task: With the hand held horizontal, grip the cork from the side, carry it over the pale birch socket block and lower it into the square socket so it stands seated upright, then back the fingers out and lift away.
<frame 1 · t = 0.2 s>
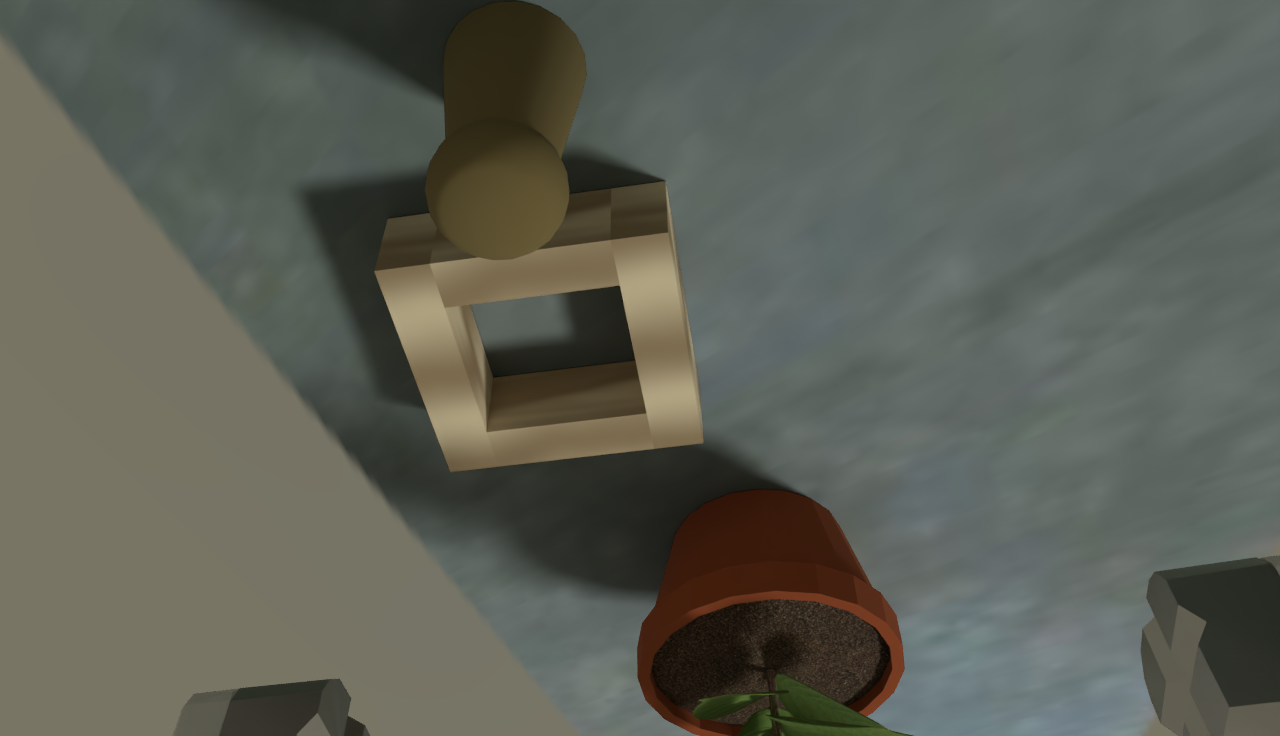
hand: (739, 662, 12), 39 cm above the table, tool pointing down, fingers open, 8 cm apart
cork: (515, 66, 50), on the table
potted plant: (751, 546, 71), on the table
socket block: (553, 309, 59), on the table
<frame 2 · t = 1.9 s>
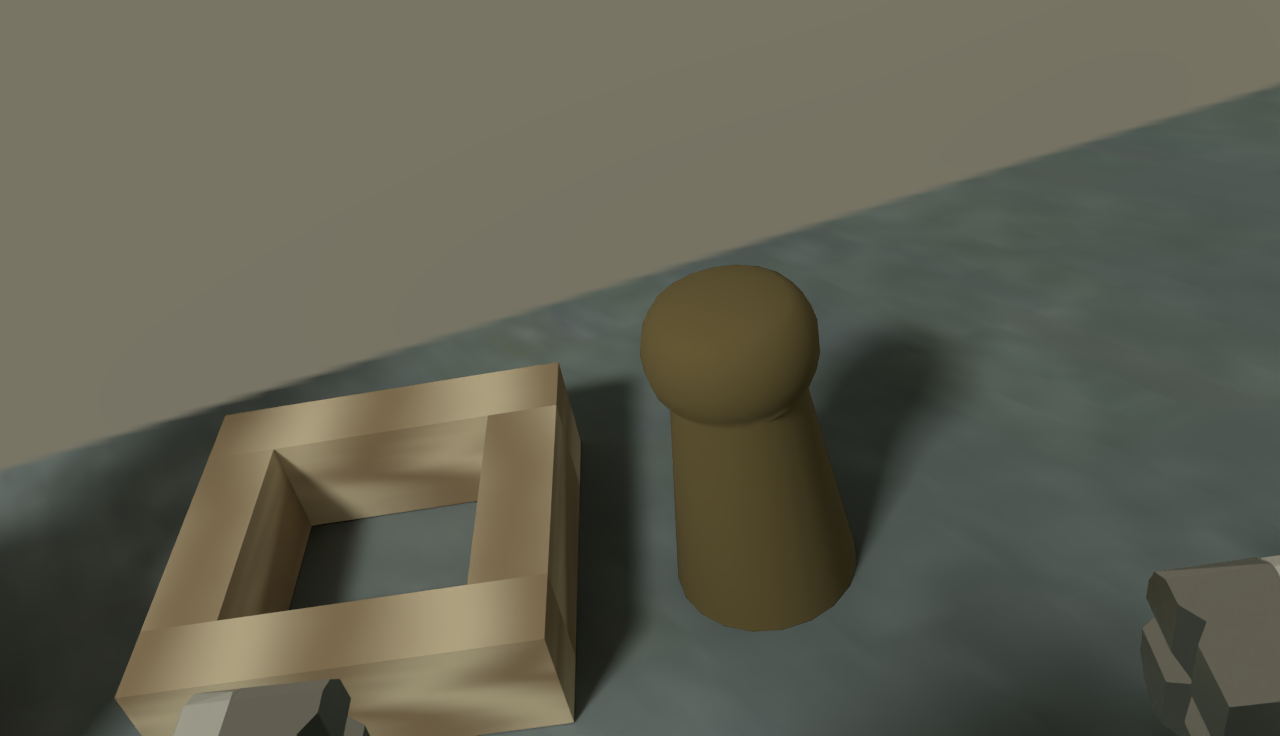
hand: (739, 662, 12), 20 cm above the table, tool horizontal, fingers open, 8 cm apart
cork: (766, 564, 40), on the table
socket block: (398, 590, 42), on the table
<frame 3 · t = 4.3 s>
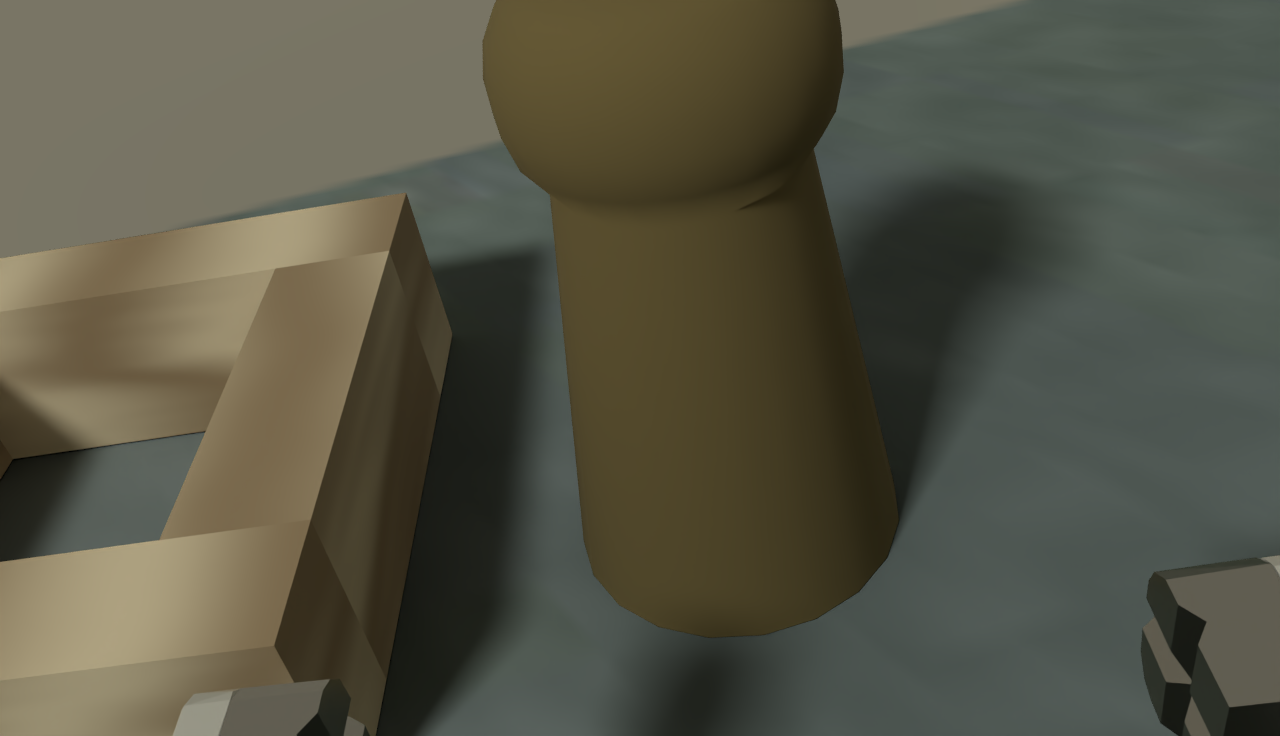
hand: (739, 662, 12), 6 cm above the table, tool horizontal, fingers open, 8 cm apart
cork: (739, 520, 23), on the table
socket block: (114, 560, 25), on the table
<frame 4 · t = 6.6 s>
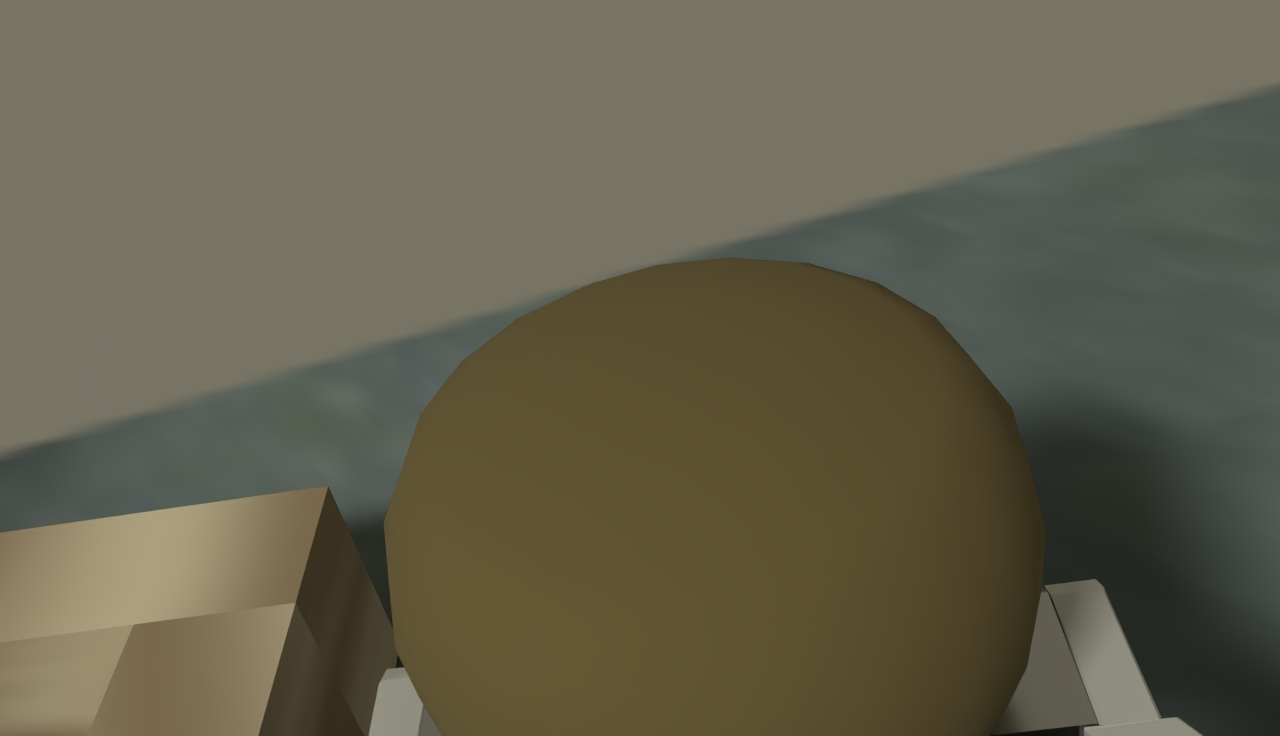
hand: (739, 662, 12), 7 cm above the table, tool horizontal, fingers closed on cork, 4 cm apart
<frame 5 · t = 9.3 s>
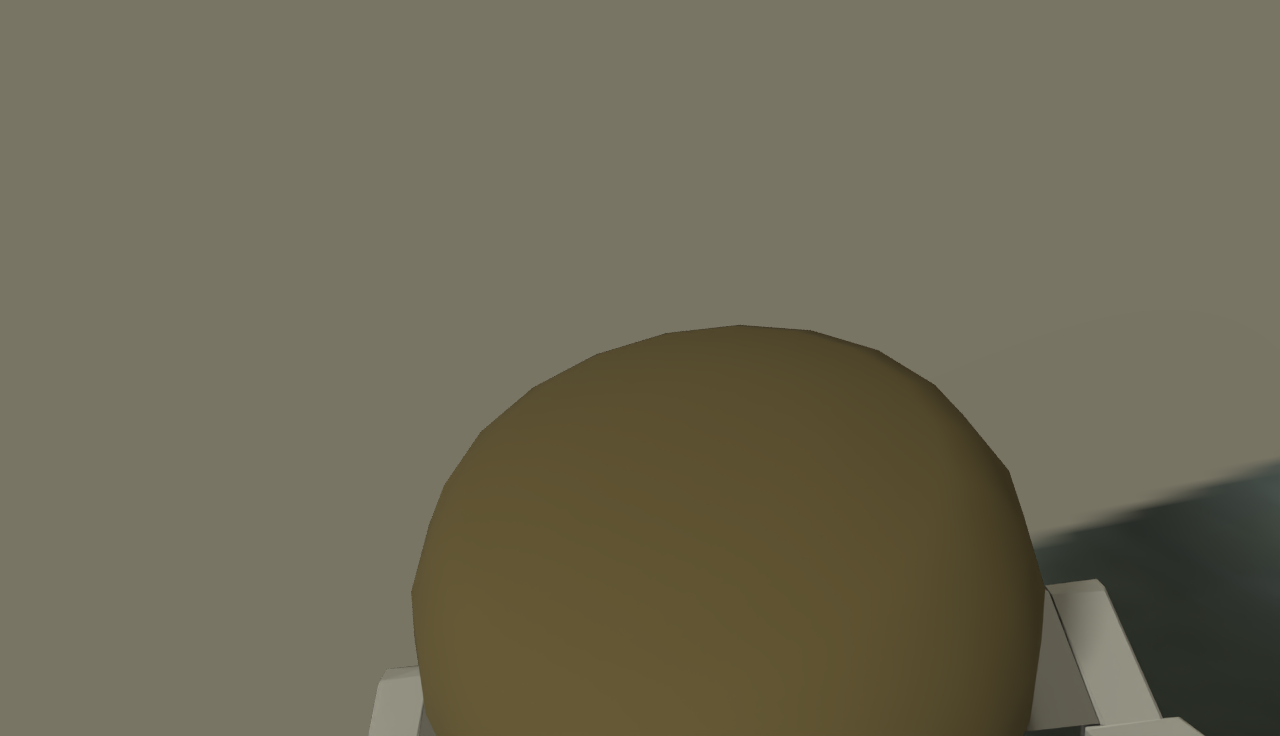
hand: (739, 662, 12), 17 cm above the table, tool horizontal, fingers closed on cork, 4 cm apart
when the fingers open (8 cm above the table, at t = 12.0 s): cork stays where it is, resting in socket block.
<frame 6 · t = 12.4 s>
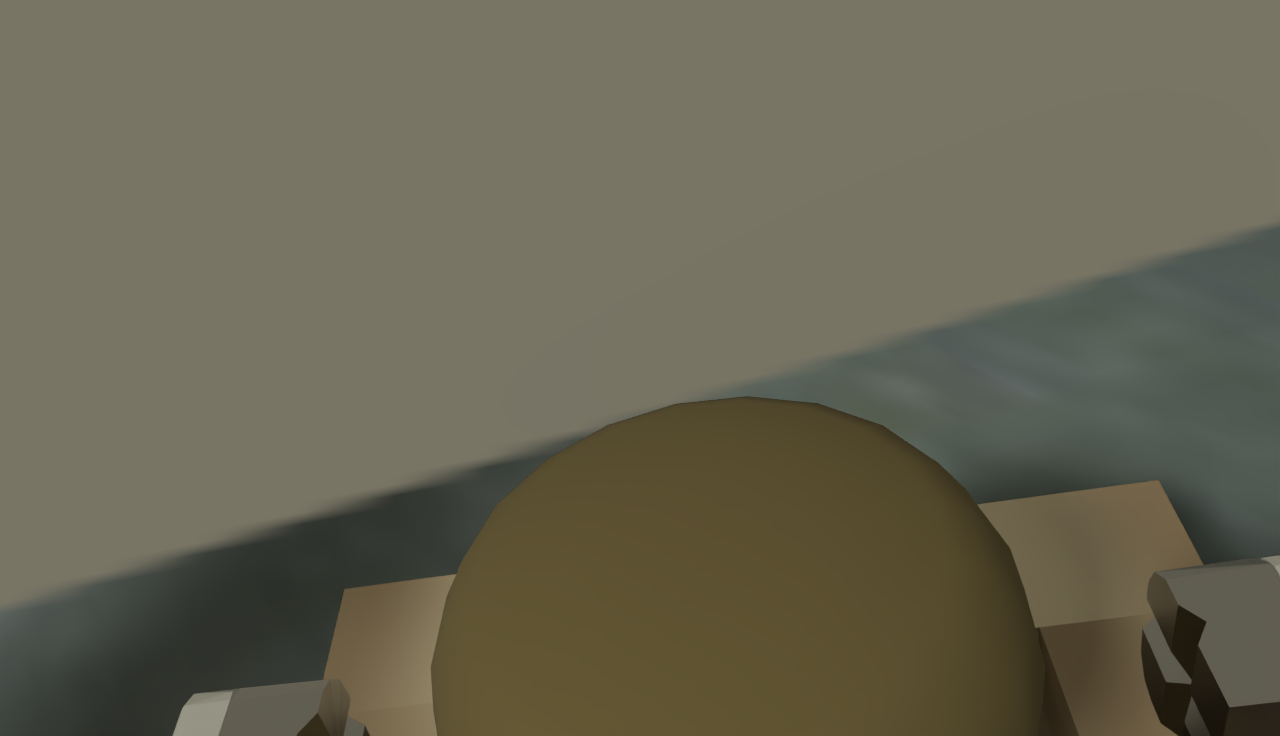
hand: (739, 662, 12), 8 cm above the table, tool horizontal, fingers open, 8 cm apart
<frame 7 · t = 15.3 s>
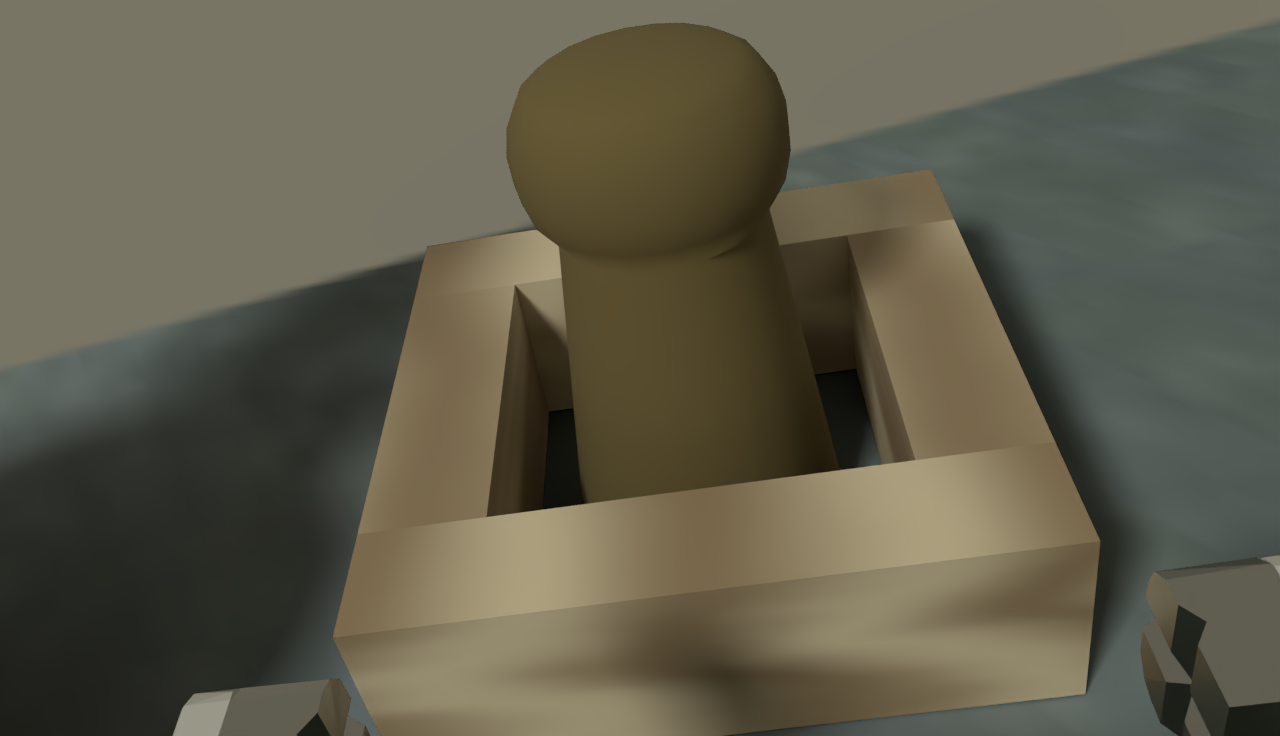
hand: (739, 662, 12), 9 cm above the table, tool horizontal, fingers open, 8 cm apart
cork: (714, 509, 28), resting in socket block
socket block: (711, 496, 28), on the table
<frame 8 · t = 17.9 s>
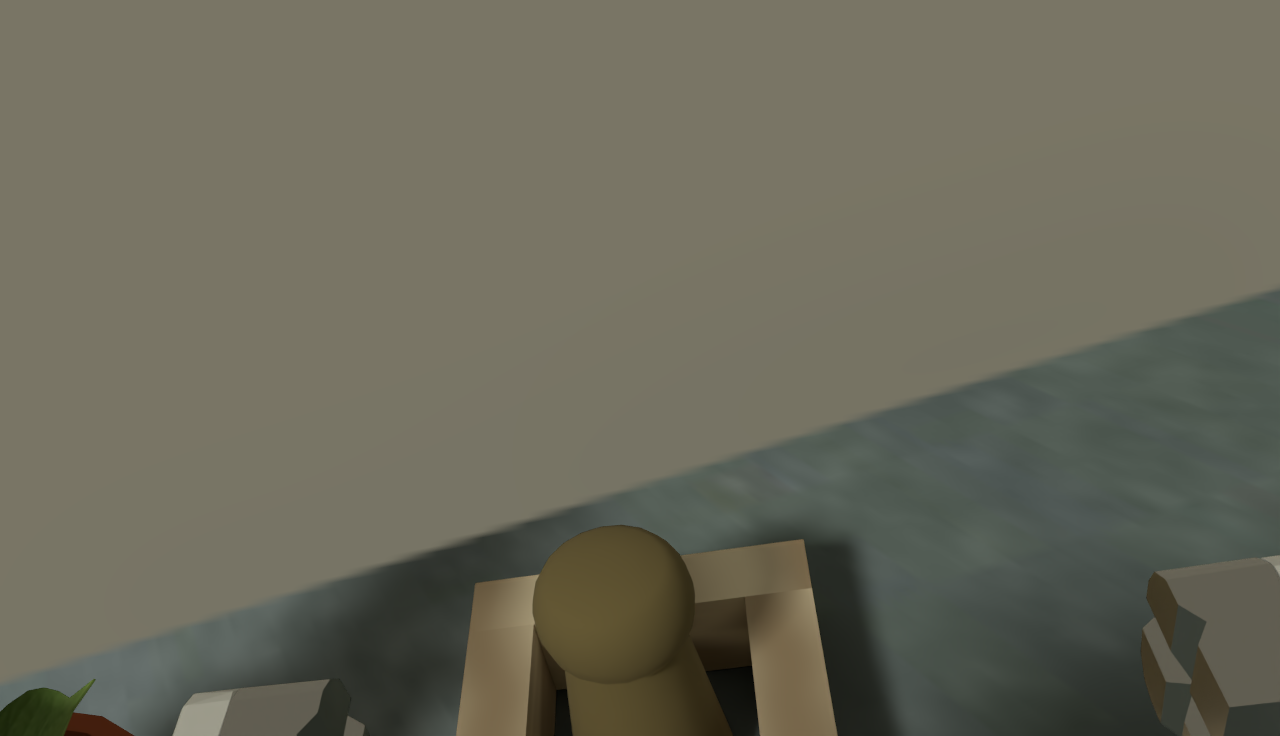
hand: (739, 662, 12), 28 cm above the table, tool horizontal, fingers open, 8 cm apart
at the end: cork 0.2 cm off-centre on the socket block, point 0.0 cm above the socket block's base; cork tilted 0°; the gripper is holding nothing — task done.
